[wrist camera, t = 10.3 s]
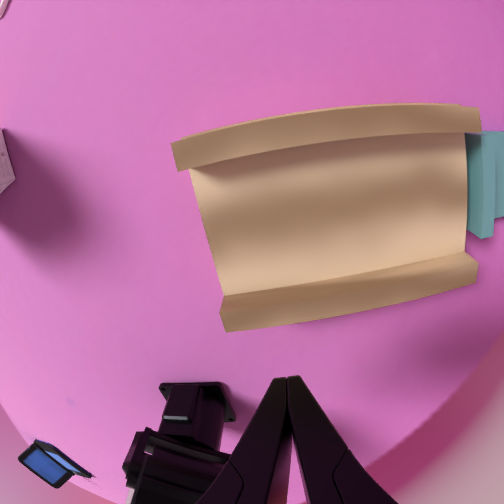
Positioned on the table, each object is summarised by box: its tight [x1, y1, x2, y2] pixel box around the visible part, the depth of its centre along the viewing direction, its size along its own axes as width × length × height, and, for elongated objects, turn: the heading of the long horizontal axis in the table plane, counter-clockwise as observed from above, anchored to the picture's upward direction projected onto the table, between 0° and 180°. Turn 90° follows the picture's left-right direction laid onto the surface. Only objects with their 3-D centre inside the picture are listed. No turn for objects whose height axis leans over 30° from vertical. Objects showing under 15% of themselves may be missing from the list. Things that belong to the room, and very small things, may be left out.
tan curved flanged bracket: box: [171, 103, 482, 332], centre depth 15 cm, size 11×16×5 cm
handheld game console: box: [18, 439, 92, 488], centre depth 42 cm, size 16×13×9 cm
